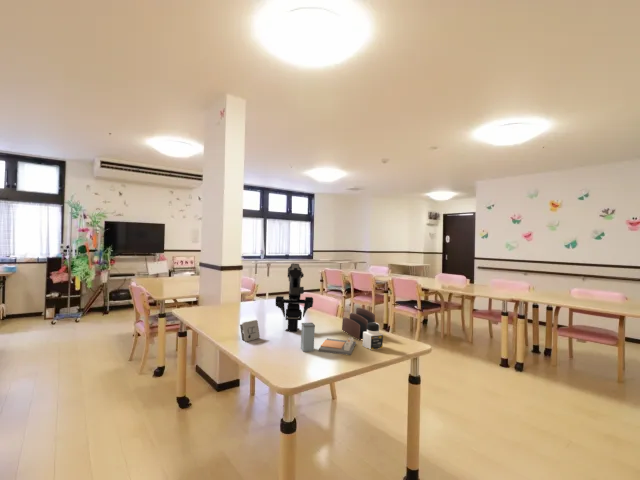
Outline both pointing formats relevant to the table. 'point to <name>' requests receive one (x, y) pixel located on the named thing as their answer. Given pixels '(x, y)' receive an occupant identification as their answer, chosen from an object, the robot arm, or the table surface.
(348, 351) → the board
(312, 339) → the cap
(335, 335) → the table surface
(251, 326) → the electrical switch
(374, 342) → the medicine bottle
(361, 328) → the letter holder
